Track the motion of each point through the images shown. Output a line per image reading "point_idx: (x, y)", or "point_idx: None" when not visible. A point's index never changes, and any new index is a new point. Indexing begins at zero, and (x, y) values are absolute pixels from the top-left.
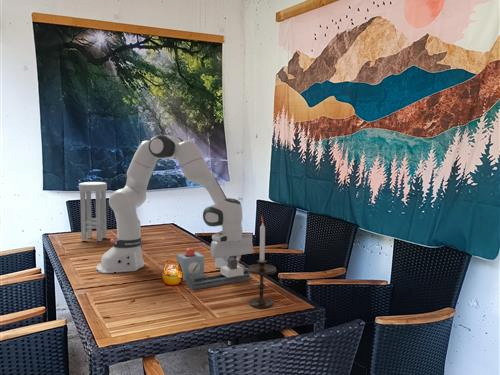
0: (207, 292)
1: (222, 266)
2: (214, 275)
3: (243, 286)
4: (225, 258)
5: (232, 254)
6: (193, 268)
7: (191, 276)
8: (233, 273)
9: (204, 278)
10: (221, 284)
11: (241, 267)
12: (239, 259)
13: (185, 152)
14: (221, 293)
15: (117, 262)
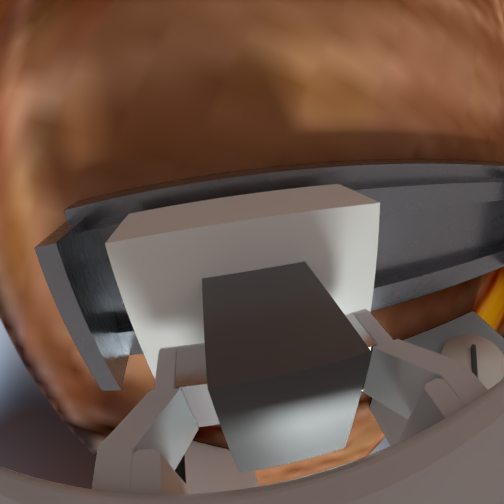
0: (475, 82)
1: (219, 454)
2: (390, 298)
3: (207, 42)
4: (467, 377)
5: (395, 487)
6: (478, 358)
7: (453, 332)
8: (275, 200)
9: (455, 262)
10: (374, 160)
11: (124, 299)
12: (135, 411)
13: None
14: (420, 13)
15: None
